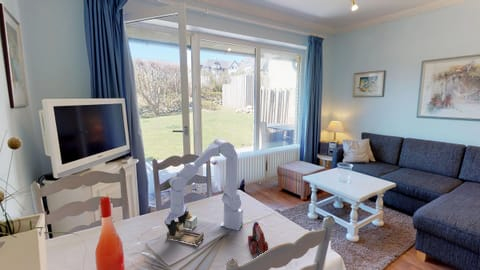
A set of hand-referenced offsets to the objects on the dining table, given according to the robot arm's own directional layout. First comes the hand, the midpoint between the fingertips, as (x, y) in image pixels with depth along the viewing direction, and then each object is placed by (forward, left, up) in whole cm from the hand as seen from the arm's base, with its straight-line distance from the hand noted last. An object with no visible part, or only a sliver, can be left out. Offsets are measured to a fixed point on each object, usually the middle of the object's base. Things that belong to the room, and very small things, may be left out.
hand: (177, 231), depth 102 cm
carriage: (0, 0, -2) cm, 2 cm away
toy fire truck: (-35, -7, -4) cm, 36 cm away
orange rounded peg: (0, -10, +1) cm, 10 cm away
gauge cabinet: (0, -10, -3) cm, 10 cm away
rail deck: (-4, -1, -3) cm, 5 cm away
